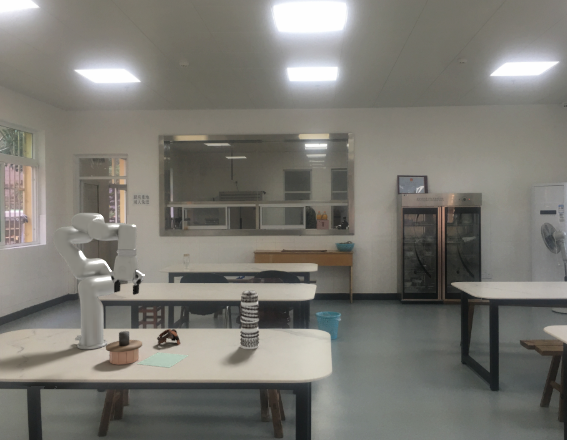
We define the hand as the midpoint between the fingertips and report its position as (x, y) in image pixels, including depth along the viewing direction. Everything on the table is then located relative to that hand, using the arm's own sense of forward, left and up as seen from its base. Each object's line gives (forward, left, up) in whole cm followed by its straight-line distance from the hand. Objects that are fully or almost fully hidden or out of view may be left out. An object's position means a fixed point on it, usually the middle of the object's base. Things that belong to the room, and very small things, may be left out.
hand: (126, 292), depth 184 cm
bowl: (+4, -7, -27) cm, 28 cm away
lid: (+4, -7, -21) cm, 22 cm away
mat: (+19, -2, -27) cm, 33 cm away
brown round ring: (+10, +18, -27) cm, 34 cm away
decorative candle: (+46, +26, -27) cm, 59 cm away
